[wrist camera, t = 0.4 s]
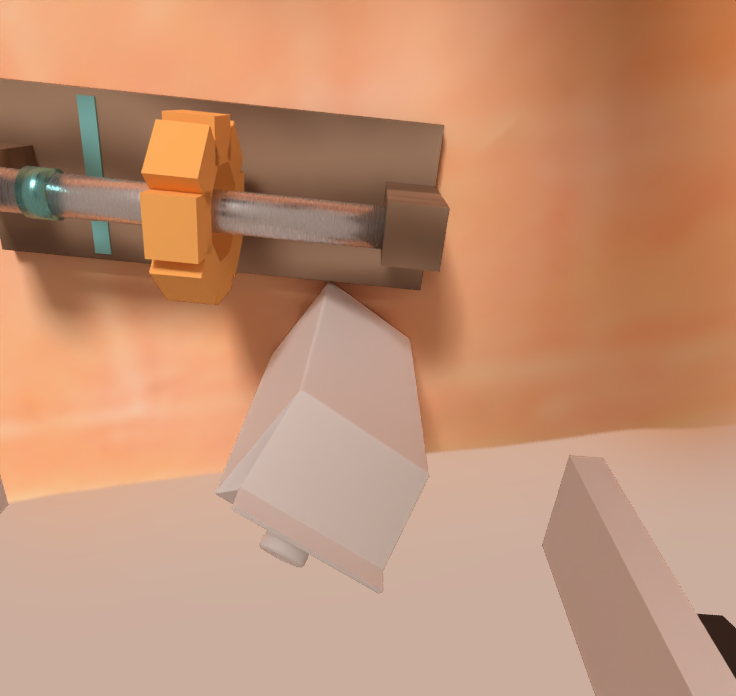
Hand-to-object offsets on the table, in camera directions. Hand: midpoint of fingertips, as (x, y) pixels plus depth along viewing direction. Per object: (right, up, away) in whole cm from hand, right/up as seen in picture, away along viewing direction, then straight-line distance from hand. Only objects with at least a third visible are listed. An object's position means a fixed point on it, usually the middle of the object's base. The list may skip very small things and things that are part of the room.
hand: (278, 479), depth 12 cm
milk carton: (0, +3, +26) cm, 26 cm away
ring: (-6, +12, +20) cm, 24 cm away
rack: (-7, +13, +21) cm, 26 cm away
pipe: (-8, +11, +17) cm, 21 cm away
